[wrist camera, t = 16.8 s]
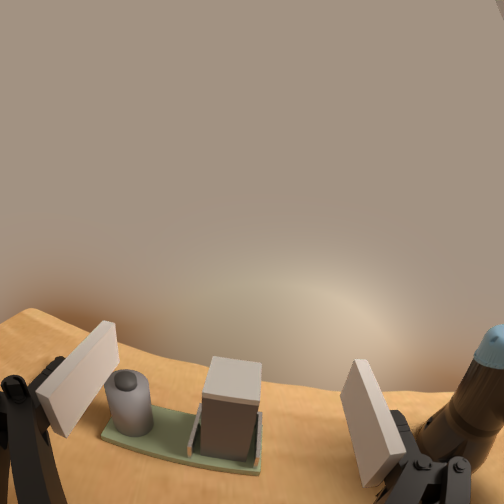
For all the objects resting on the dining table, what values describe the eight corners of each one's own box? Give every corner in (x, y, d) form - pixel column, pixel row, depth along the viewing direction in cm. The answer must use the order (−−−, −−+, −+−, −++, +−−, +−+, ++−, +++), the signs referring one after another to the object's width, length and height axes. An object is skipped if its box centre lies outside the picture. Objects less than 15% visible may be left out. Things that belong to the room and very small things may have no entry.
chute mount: (259, 424, 38) (262, 412, 37) (256, 468, 30) (260, 457, 29) (199, 415, 38) (199, 402, 37) (187, 458, 30) (187, 446, 29)
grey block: (249, 426, 37) (261, 362, 34) (245, 462, 31) (259, 400, 27) (208, 421, 37) (212, 355, 34) (200, 455, 31) (202, 392, 27)
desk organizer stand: (261, 429, 38) (272, 383, 35) (259, 475, 29) (272, 434, 27) (124, 401, 39) (115, 352, 36) (102, 440, 30) (86, 391, 27)
